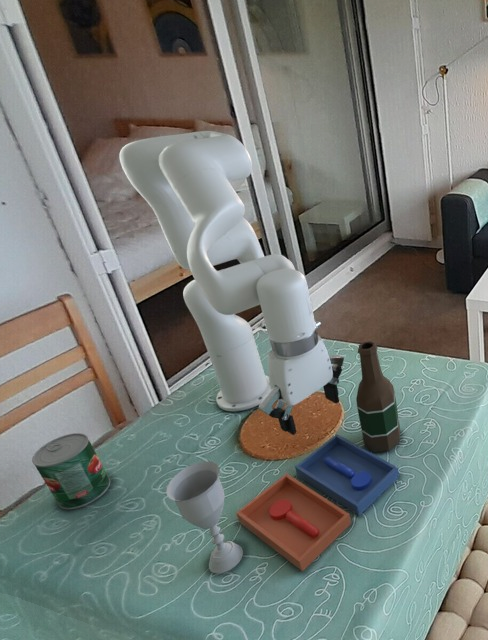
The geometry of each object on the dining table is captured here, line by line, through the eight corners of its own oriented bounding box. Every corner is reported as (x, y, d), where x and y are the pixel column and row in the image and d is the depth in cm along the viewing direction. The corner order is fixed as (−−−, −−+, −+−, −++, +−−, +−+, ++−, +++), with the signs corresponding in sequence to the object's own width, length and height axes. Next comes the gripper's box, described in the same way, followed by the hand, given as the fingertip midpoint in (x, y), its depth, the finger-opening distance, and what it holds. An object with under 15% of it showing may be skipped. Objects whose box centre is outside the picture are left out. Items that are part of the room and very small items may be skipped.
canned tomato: (120, 481, 97) (98, 438, 92) (77, 514, 90) (51, 470, 85) (92, 471, 99) (69, 428, 94) (48, 503, 92) (20, 459, 87)
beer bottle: (392, 457, 101) (376, 359, 90) (357, 450, 103) (337, 354, 92) (407, 430, 108) (394, 336, 97) (374, 424, 110) (358, 332, 99)
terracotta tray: (239, 522, 88) (235, 512, 87) (289, 482, 96) (286, 473, 95) (302, 571, 80) (299, 561, 79) (351, 523, 88) (349, 513, 86)
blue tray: (297, 476, 97) (294, 466, 96) (338, 442, 105) (336, 433, 104) (359, 516, 89) (357, 506, 88) (399, 476, 97) (397, 467, 96)
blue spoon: (319, 467, 98) (317, 462, 98) (333, 456, 101) (332, 450, 100) (361, 493, 93) (359, 487, 92) (375, 480, 95) (374, 474, 95)
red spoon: (326, 529, 86) (325, 523, 85) (309, 546, 83) (307, 540, 83) (283, 499, 92) (281, 494, 91) (266, 514, 89) (264, 508, 88)
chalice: (214, 540, 85) (182, 462, 77) (255, 536, 86) (227, 459, 77) (193, 582, 78) (156, 502, 70) (238, 578, 79) (206, 499, 71)
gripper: (320, 311, 94) (334, 382, 102) (233, 358, 81) (257, 436, 89) (348, 322, 90) (360, 396, 98) (262, 373, 77) (284, 453, 85)
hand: (312, 415), depth 94 cm, fingers open, 9 cm apart
